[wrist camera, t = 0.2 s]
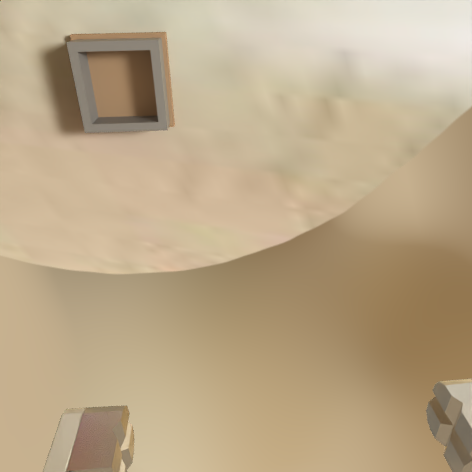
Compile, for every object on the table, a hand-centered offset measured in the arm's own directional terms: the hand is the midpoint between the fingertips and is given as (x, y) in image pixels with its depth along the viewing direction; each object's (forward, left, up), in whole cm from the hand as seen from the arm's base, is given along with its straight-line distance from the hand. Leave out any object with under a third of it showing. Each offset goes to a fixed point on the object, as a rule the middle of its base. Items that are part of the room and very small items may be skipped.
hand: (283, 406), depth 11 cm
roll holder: (-1, -12, -48) cm, 49 cm away
